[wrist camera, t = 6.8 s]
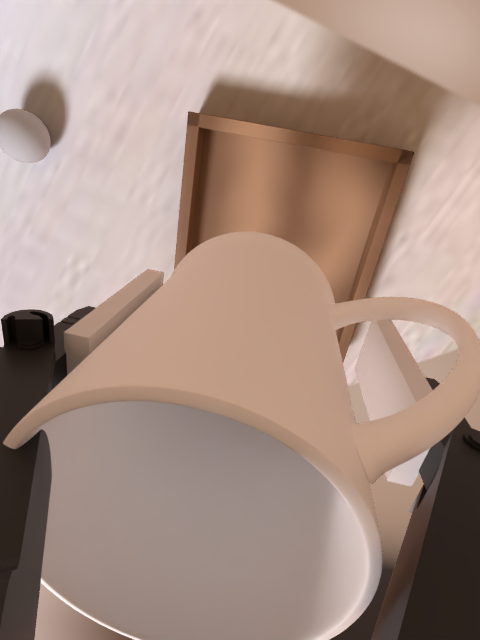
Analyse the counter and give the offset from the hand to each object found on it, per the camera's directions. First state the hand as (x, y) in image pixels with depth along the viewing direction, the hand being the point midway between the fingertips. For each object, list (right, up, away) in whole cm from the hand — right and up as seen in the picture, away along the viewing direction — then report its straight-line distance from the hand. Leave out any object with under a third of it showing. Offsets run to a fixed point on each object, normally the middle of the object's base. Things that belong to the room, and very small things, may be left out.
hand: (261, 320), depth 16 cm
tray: (+2, +6, +13) cm, 14 cm away
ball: (-17, +14, +12) cm, 25 cm away
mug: (+1, +1, +1) cm, 2 cm away
